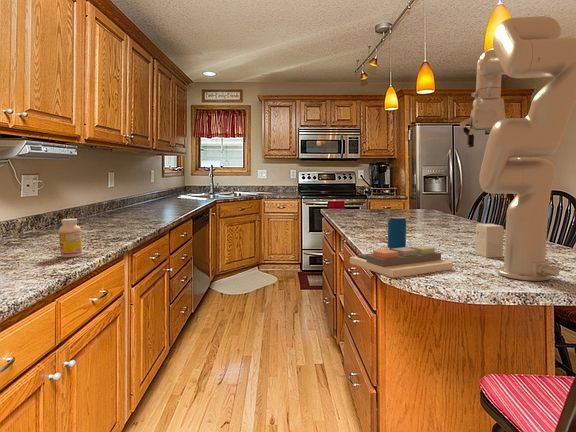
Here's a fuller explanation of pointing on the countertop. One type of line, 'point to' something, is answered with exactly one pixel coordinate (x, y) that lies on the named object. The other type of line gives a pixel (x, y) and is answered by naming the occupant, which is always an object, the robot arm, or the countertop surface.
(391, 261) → the keypad
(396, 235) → the beverage can
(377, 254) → the key terracotta
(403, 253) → the key slate
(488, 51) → the robot arm
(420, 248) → the key sage
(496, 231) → the small box
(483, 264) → the countertop surface
